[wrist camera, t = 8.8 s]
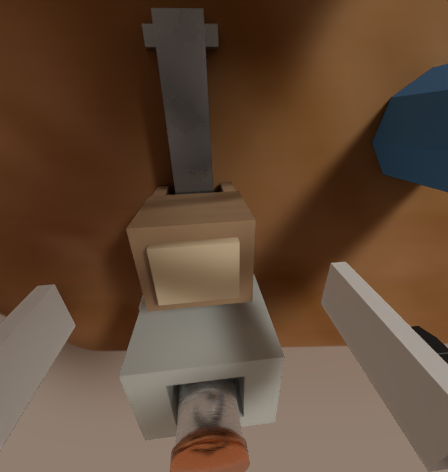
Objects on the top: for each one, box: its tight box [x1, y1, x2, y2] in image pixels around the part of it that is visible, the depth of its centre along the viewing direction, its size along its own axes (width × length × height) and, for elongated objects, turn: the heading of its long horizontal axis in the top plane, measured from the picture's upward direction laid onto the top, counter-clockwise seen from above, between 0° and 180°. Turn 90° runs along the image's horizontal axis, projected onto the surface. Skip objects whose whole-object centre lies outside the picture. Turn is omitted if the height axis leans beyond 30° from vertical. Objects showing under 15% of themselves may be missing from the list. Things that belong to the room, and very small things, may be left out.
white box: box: [119, 275, 285, 440], centre depth 20 cm, size 8×10×12 cm
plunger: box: [170, 378, 250, 472], centre depth 15 cm, size 4×4×6 cm
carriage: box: [126, 182, 256, 312], centre depth 17 cm, size 6×7×10 cm
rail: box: [142, 8, 219, 195], centre depth 18 cm, size 18×5×3 cm, turn 2°
